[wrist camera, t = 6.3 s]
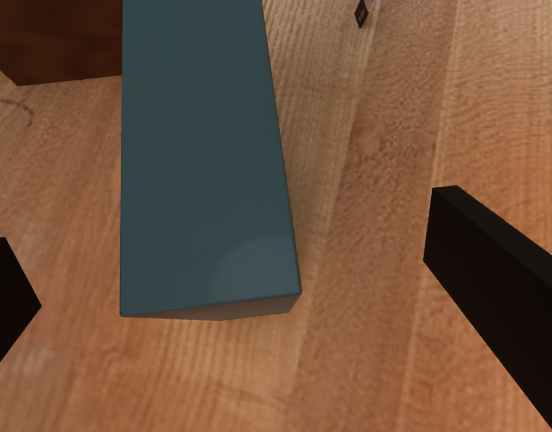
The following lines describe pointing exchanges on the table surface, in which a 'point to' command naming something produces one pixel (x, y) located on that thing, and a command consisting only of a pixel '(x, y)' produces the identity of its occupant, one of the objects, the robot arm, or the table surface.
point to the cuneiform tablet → (363, 11)
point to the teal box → (202, 165)
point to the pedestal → (60, 40)
